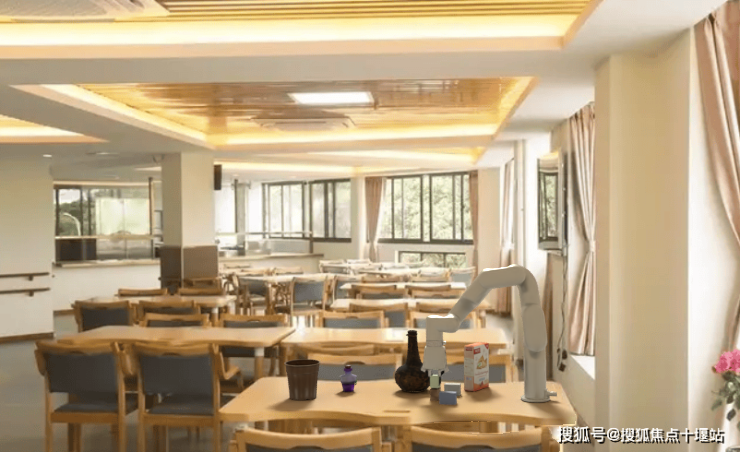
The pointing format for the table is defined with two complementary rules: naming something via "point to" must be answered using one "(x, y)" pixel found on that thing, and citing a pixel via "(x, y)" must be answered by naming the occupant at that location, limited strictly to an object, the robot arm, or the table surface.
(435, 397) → the walnut brick
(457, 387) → the slate brick
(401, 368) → the glass bottle
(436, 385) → the sage brick
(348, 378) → the potion bottle
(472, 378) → the cracker box
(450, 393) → the blue block
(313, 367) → the plant pot
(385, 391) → the table surface
